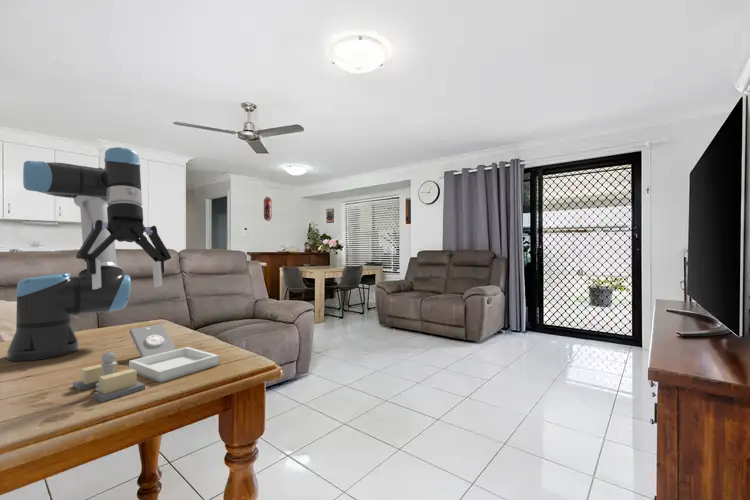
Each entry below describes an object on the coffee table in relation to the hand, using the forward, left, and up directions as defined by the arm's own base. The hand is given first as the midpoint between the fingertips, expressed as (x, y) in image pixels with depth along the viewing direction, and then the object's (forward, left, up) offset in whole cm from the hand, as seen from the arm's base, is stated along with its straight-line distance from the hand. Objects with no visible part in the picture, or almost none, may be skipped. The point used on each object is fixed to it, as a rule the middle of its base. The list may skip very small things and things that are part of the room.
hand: (129, 287), depth 86 cm
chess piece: (+7, -7, -22) cm, 24 cm away
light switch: (-9, +10, -22) cm, 25 cm away
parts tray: (+6, +8, -21) cm, 24 cm away
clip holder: (+7, -7, -21) cm, 23 cm away
